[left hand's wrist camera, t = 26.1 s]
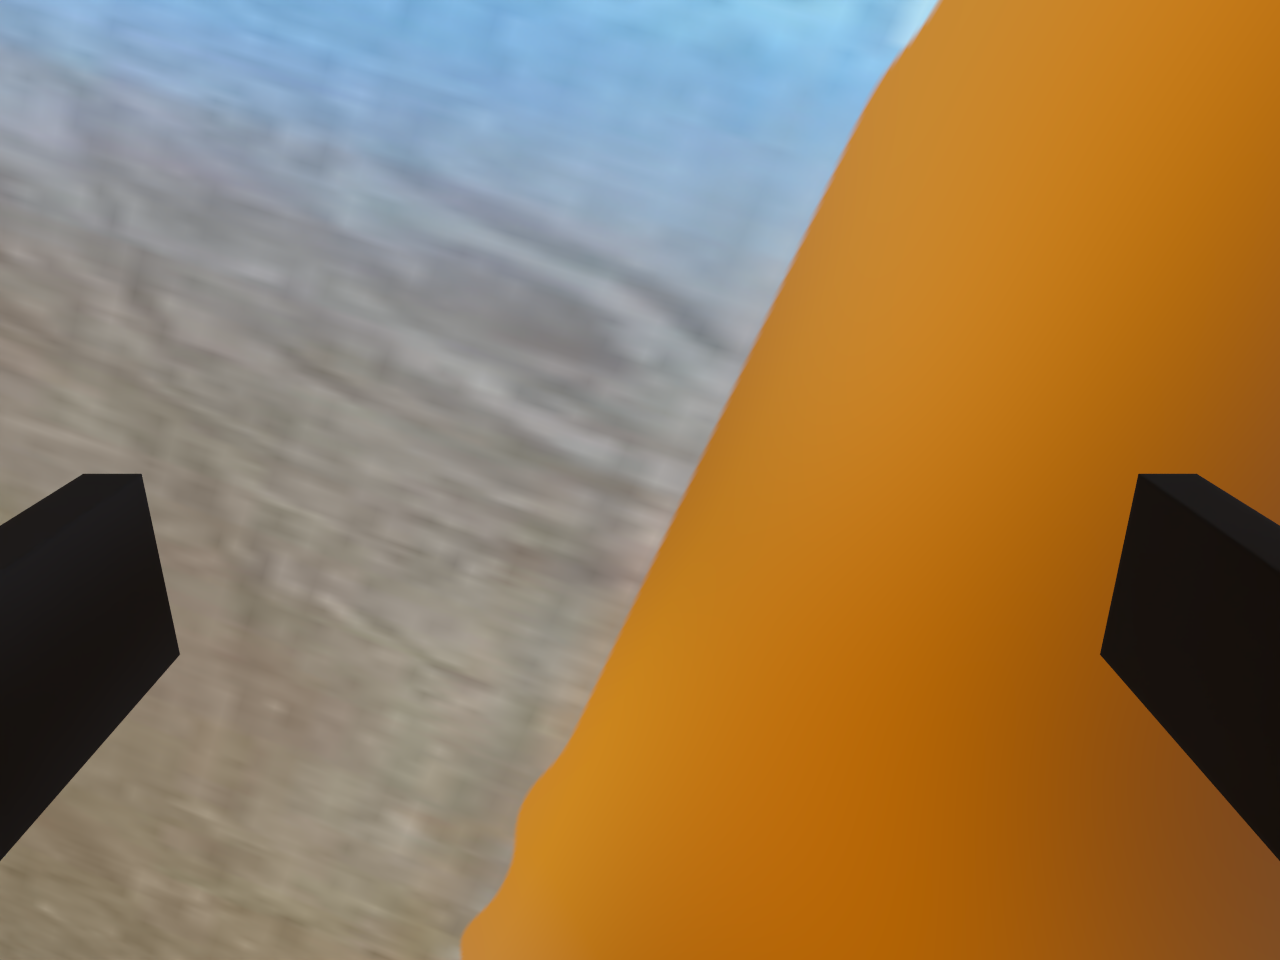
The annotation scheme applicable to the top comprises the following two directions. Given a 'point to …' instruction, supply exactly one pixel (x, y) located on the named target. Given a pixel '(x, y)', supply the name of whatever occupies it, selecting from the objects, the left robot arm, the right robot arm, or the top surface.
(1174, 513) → the left robot arm
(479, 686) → the top surface
